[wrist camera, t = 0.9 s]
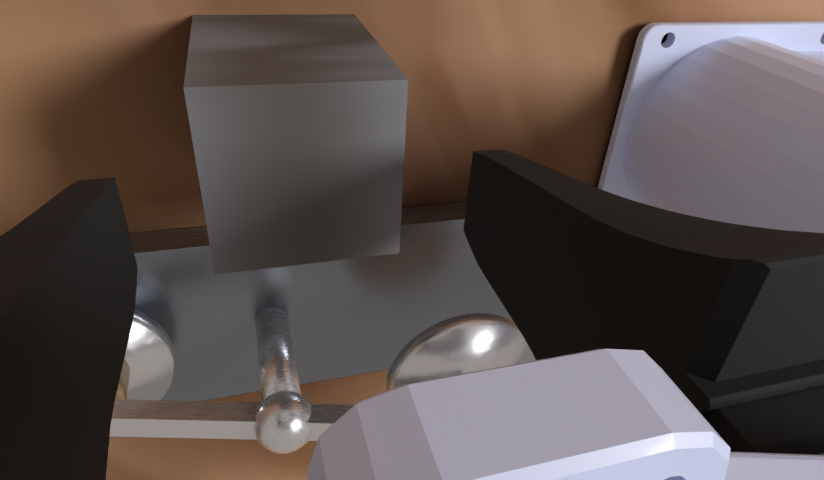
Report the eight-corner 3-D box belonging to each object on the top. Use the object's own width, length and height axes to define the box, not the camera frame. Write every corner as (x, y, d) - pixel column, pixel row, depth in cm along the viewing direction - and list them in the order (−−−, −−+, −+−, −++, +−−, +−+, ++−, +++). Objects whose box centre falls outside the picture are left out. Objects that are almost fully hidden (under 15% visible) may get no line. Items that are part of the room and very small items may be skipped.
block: (353, 14, 17) (408, 79, 12) (353, 153, 19) (399, 253, 15) (192, 15, 16) (183, 87, 11) (214, 163, 18) (214, 274, 14)
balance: (525, 195, 22) (642, 326, 16) (500, 330, 26) (587, 476, 20) (-82, 253, 17) (-246, 477, 11) (-3, 410, 21) (-91, 640, 15)
